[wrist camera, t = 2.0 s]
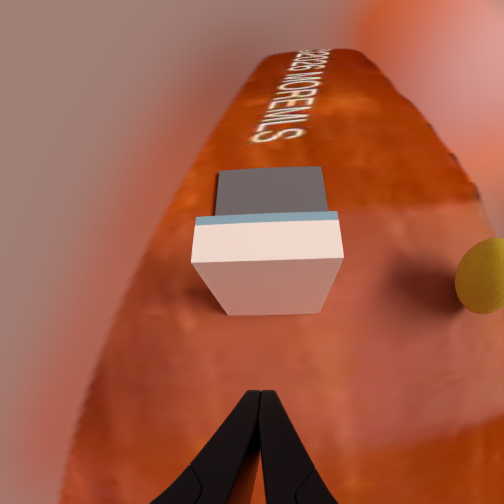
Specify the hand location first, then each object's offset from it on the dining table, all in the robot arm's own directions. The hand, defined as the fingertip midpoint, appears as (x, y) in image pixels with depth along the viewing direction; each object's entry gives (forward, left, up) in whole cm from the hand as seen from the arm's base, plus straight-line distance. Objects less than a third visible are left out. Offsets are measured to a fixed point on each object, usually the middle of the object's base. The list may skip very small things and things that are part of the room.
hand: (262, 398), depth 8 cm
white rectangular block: (+6, +4, -13) cm, 15 cm away
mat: (+12, +9, -13) cm, 19 cm away
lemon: (+16, -10, -13) cm, 22 cm away
